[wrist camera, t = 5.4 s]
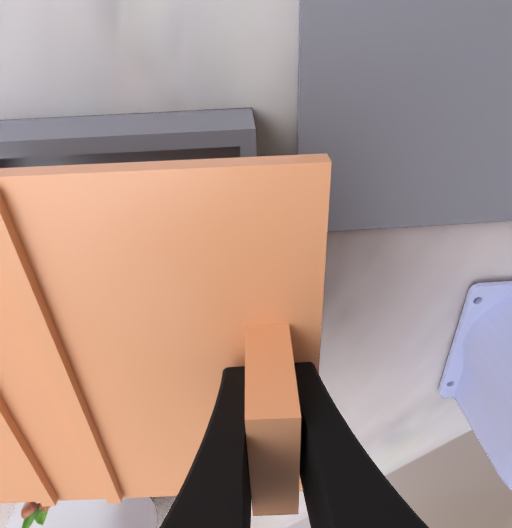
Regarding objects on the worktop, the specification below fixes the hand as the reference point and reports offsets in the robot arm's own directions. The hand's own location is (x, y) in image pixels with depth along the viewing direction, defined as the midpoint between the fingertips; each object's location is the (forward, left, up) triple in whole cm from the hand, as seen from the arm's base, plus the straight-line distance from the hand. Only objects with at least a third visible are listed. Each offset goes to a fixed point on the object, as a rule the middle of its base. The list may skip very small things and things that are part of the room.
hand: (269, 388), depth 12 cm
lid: (0, +5, -1) cm, 5 cm away
